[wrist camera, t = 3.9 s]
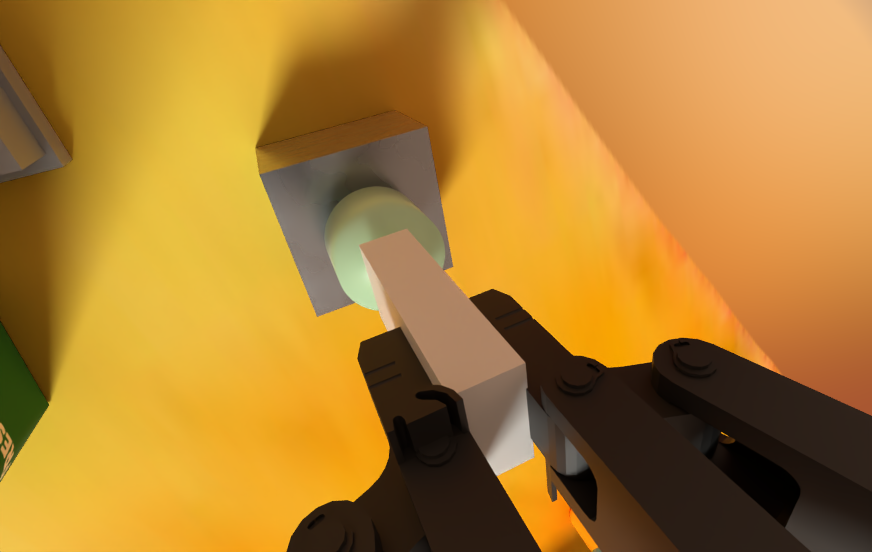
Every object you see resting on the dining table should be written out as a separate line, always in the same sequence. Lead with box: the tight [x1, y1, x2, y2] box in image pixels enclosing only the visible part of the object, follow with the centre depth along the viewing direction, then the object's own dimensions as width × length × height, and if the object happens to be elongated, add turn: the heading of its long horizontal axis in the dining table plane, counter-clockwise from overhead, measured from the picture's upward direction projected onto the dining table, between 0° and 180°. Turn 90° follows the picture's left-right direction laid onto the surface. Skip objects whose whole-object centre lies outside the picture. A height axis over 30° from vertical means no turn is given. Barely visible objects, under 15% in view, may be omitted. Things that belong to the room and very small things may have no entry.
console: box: [255, 110, 453, 317], centre depth 19 cm, size 6×6×4 cm
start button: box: [324, 186, 445, 311], centre depth 15 cm, size 4×4×2 cm
